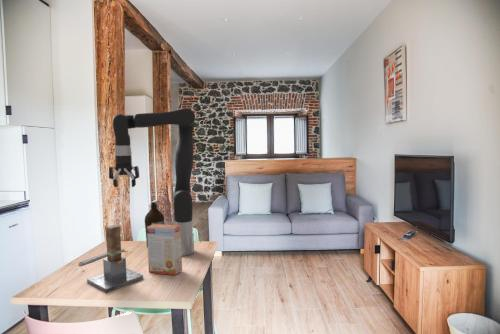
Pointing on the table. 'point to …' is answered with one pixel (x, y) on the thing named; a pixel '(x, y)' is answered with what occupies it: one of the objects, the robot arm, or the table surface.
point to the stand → (114, 276)
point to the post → (113, 242)
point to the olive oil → (153, 217)
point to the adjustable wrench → (95, 258)
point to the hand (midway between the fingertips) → (124, 187)
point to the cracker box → (164, 249)
